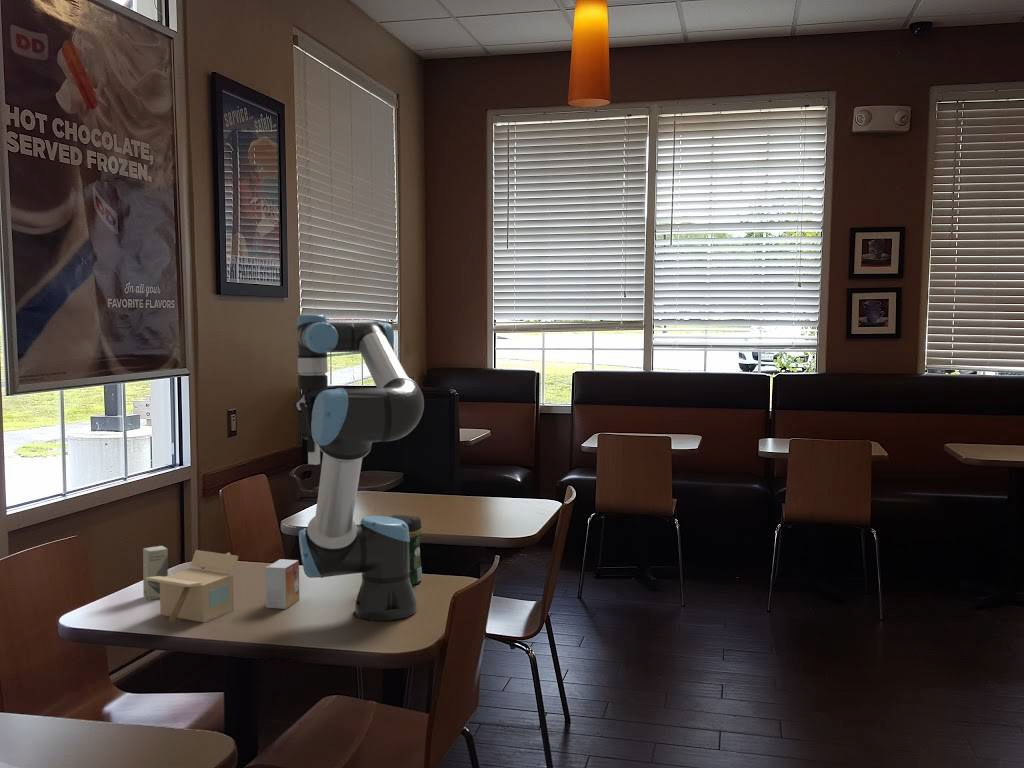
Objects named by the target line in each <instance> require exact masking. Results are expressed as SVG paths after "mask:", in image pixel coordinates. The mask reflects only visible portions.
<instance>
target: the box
mask: <svg viewBox="0 0 1024 768" xmlns="http://www.w3.org/2000/svg"><path fill="white" fill-rule="evenodd" d="M168 555H169V554H168V548H167V547H165V546H163V545H158V546H151V547H144V548H142V557H143V558H142V560H143V562H142V564H143V565H142V566H143V569H142V573H143V574H142V577H143V578H142V579H143V581H142V582H143V585H142V586H143V597H144V598H145V599H147V600H149V601H150V600H151V601H152V600H156V599H160V582H155V581H148V580H146V577H154V576H162V577H165V576H168V575H169V573H168V572H169V570H168V569H169V568H168V567H169V566H168V565H169V562H168V561H169V559H168V557H169V556H168Z"/></svg>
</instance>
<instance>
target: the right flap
mask: <svg viewBox="0 0 1024 768" xmlns="http://www.w3.org/2000/svg"><path fill="white" fill-rule="evenodd" d="M238 560H239V555H236V554H231V553H230V552H227V553H220V552H213V551H206V550H199V549H195V552H194V554H193V557H192V560H191V564H190V566H192V567H197V568H201V570H205V569H210V570H218V571H225V572H230V573H231V572H232V573H235V569H236V568H237V567H236V566H237V563H238Z"/></svg>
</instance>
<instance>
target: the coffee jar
mask: <svg viewBox="0 0 1024 768" xmlns="http://www.w3.org/2000/svg"><path fill="white" fill-rule="evenodd" d="M389 517H392V518H396V519H400V520H402V521H404V522H405V523H406V524H407V525H408V528H409V539H410V542H409V578H410V582H411V585H412V586H413V585H417V584H419V583H420V582H421V581H422V579H423V574H422V573H423V571H422V561H421V560H422V559H421V547H420V545H421V543H420V541H421V534H422V531H423V527H422V521H421V518H420V516H415V515H406V514H405V515H404V514H392V515H390V516H389Z"/></svg>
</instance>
